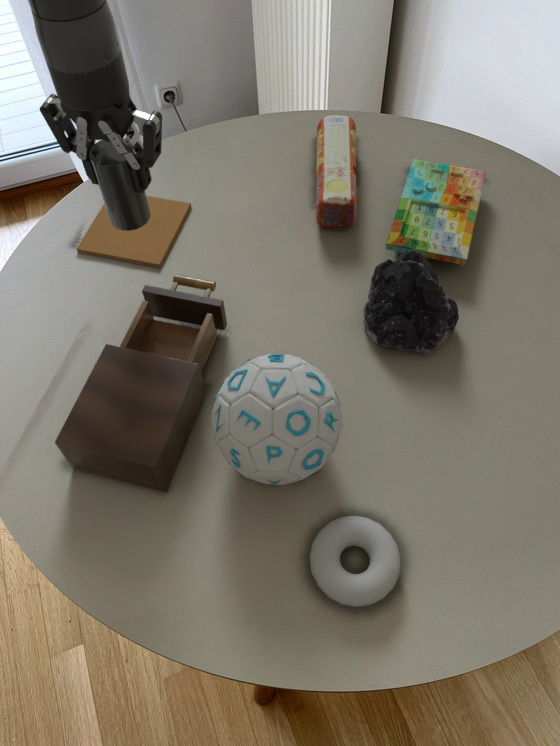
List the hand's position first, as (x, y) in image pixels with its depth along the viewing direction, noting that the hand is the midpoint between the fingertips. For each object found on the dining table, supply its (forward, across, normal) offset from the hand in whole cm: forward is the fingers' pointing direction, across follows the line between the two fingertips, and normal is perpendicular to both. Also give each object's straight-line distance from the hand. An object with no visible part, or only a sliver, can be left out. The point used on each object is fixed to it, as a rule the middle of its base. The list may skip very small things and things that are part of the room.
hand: (120, 183), depth 79 cm
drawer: (+20, -7, +7) cm, 23 cm away
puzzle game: (+21, -38, -25) cm, 50 cm away
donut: (+21, -38, +31) cm, 53 cm away
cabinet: (+21, -7, +21) cm, 31 cm away
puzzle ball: (+21, -25, +19) cm, 38 cm away
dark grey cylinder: (+5, 0, 0) cm, 5 cm away
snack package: (+21, -20, -30) cm, 42 cm away
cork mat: (+21, +8, -12) cm, 26 cm away
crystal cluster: (+21, -37, -5) cm, 43 cm away
